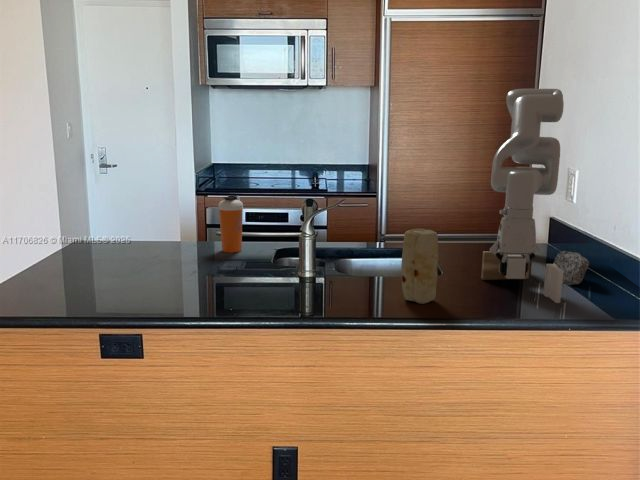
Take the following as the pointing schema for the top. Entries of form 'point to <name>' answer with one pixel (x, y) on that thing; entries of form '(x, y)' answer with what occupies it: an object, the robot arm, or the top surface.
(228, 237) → the shaker bottle
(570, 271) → the rock
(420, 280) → the food model
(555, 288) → the door frame
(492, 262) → the door
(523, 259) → the white stepped block
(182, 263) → the top surface
